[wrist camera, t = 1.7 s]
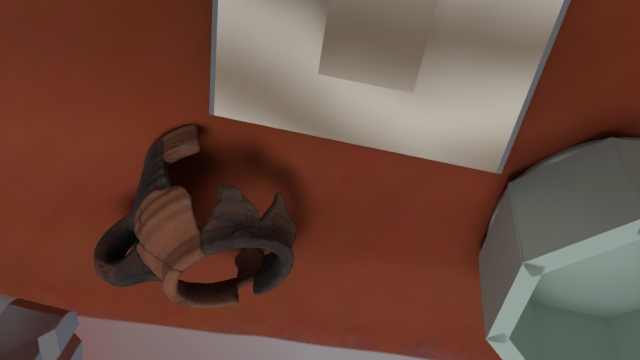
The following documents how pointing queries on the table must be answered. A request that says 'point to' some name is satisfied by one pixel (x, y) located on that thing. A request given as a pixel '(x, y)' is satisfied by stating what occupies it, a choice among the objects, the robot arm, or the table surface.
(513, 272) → the ceramic bowl
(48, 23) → the table surface
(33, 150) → the table surface
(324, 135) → the birch lid
